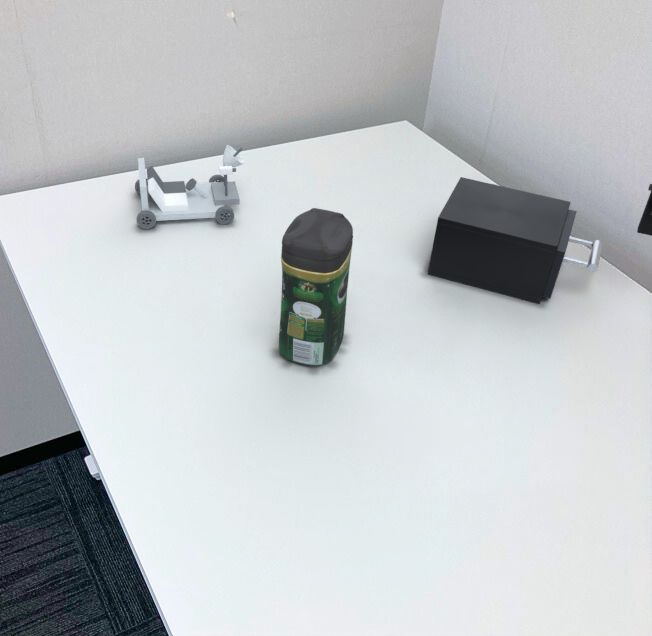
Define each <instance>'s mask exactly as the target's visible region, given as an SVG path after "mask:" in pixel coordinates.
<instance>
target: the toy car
mask: <svg viewBox="0 0 652 636" xmlns="http://www.w3.org/2000/svg"><path fill="white" fill-rule="evenodd" d="M243 150H244V149H243V148H242V147H240V148H239V149H238V150H236V149H235V148H234V147H232V146H231V145H229V144H226V146H225V149H224V152H223V155H222V165H219V166H218V169H219V170H218V173H219V174H214V175H212V176H210V178H209V179H208V181H207V182H206V181H205V182H198V181H197V180H196V179H195V178H194V177H192V178H190V179H189V180H188V181H187V183H186V182H185V180H177V181H163V180H162V178H161V177H160V176H159V174H158V172H157V171H156V169H155V168H154V167H153V165H151V166H148V167H147V168H146V163H145V162H146V161H145V157H137V164H138V167H137V168H138V179H136V181H135V183H134V190H135V192H136V194H138V195H139V196H140V202H141V203H140V204H141V211H140V212H139V213H138V214H137V215H136V224H137V226H138V227H139V228H140V229H143V230H150V229H152V228H154V227H155V226H156V224H157V222H159V221H160V222H161V221H179V220H194V219H211V218H212V219H213V218H214V219H215V220H216V222H217V223H218V224H221V225H223V226H224V225H229V224H231V223H232V222H233V221H234V219H235V211H234V209H232V207H229V206H233V205H235V206H237V205H240V204H241V201H240V195H239V190H238V188H237V184H236V181H228V176H229V175H233V173H236V172H237V168H236V167H241V166H243V165H244V164H245V160H244V159H243V157H242V156H241V154H240V153H241V152H242V151H243Z"/></svg>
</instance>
